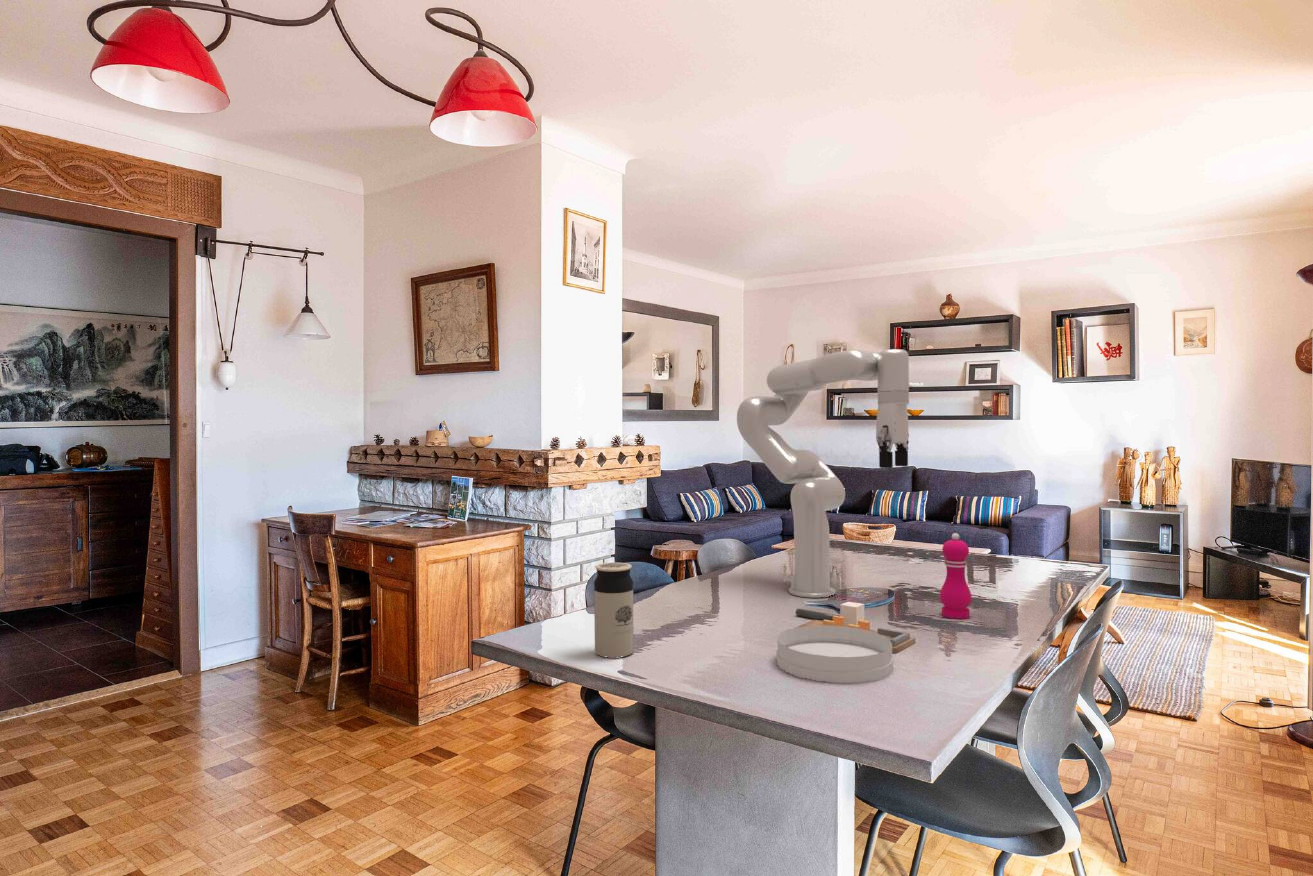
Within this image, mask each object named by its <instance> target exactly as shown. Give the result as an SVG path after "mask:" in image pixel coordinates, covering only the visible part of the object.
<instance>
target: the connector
mask: <svg viewBox="0 0 1313 876" xmlns="http://www.w3.org/2000/svg"><path fill="white" fill-rule="evenodd" d="M839 605H840V609H839V610H840V611H839V612H840V613H839V614H840V615H839V614H832V613H827V612H820V611H816V610H808V609H804V608H797V609H796V610H795V615H796V616H798V617H802V618H808V619H813V620H820V621H823V620H830V621H833V616H841V617H845V625H847V626H848V625H849V624H852V625H858V620H864V621H865V603H859V602H854V601H853V602H852V601H847V602H844V603H841V604H839Z"/></svg>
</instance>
